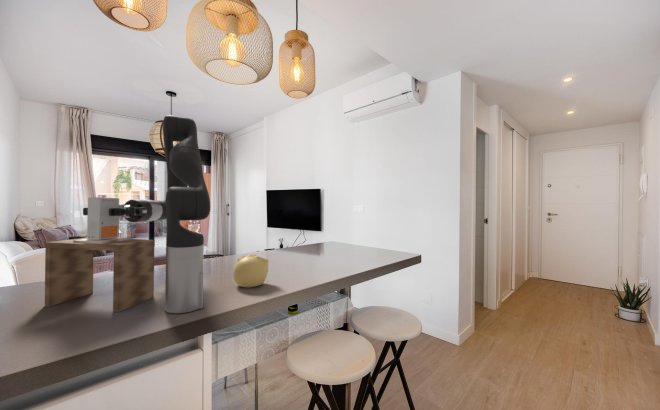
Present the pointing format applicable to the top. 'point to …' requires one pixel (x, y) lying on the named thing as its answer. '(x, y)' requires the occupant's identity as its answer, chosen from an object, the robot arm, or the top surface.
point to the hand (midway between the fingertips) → (96, 211)
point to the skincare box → (102, 218)
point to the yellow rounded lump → (250, 271)
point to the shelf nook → (77, 270)
